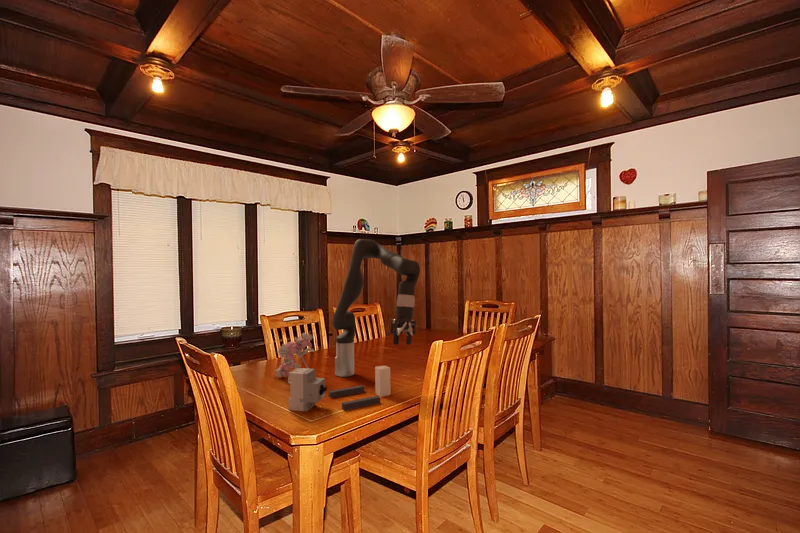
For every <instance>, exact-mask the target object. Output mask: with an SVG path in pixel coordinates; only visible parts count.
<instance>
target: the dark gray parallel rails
mask: <svg viewBox="0 0 800 533" xmlns="http://www.w3.org/2000/svg"><path fill="white" fill-rule="evenodd" d="M360 393H365V385H363V384H361V385H357V386H350V387H345V388H339V389H333V390H328V397H329V398H330V399H334V398H339V397H344V396H349V395H355V394H360ZM380 403H381V397H380V396H379V395H375V396H369V397H364V398H359V399H353V400H349V401H348V400H347V401H343V402H341V409H342V411H349V410H353V409H358V408H363V407H367V406H372V405H377V404H378V405H379V404H380ZM348 409H349V410H348Z"/></svg>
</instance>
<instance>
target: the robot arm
mask: <svg viewBox="0 0 800 533" xmlns="http://www.w3.org/2000/svg"><path fill="white" fill-rule="evenodd" d="M372 258H374V259H378V260H380V262H381V263H382V264H383V265H384V266H385V267H387V268H390V270H391V269H392V270H393V271H394V272H396V273H397V274H400V275H402V276H406V277H405V278H406V279H405V280H402V281H400V282H399V284H398V291H397V292H398V294H397V297H396V298H397V299H396V309H395V316H396V318H392V319H391V323H390V334H392V335H393V342H392V343H393V345H396V346H397V345H399V343H400V334H401V332H403V331H404V332H405V333H406V338H405V339H406V340H405V344H406V345H409V346H411V344H412V338H413V336H414V335H416V330H417V328H416V327H417V321H416V320H414V319H413V317H414V314H415V313H414V312H415V292H416V285H417V283H418V279H419V276H420V274H421V266H420V264H419V262H418V261H416V260H412V259H408V258H404V257H403V256H402V255H401V254H398V253H396V252H393V251H391V250H389V249H387V248H386V247H384V246H383V245H381V244H380V243H378V242H377V241H376V240H373V239H370V238H368V239H367V238H358V239H357V240H356V241H355V242H354V245H353V248H352V253H351V258H350V264H349V268H348V272H347V275H346V278H345V282H344V284H343V288H342V292H341V295H340V298H339V302H338V303H337V306H336V309H335V312H334V314H333V316H332V327H333V328H334V329H335V330H337V331H341V330H343V331H342V332H341V333H340V334H339V335H337V336H336V338H335V340H336V342H335V343H336V347H335V350H336V351H335V352H336V354H335V355H336V356H335V357H334V376H337V377H343V378H347V377H352V376H354V375H355V338H356V337H355V336H356V317H355V314H354V312H353V311H349V308H350V307H351V305H353V304H354V302H355V301H356V300H357V299H358V298H359V297H360V295H361V294H362V290H363V287H364V282H365V280H364V276H363V274H362V273H363V272H362V270H361V267H362V262H363V260H364V259H372Z"/></svg>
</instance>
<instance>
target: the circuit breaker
mask: <svg viewBox="0 0 800 533" xmlns="http://www.w3.org/2000/svg"><path fill="white" fill-rule="evenodd" d="M315 370H316V369H315V368H307V367H306V368H304V367H302V368H301V367H298V368H296V369H293V370H292V371H289V372H288V373H289V376H287V382H288V384H289V386H290V390H289V392H290V393H289V394H290V396H289V398H288V411H295V412H308V411H309V410H311V409H312V408H313V407H314V406H315V405H316V403H317V404H318V403H319V402H320V401H322V399H323V398H325V397H326V391H327V390H328V387H327V386H326V378H325V377H316V371H315Z"/></svg>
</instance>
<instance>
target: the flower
mask: <svg viewBox="0 0 800 533" xmlns="http://www.w3.org/2000/svg"><path fill="white" fill-rule="evenodd" d="M312 339H313V334H311V330H309V333H308V332H306V333H305V332H304V331H303V333H301V335H300V336H298V337H296V336H295V337H294V338H293V340H294V341H288V342H286V343H282V345H281V346H278V348H279V349H278V350H277V351H276V353H277V354H279V357H281V358H283V359H284V360H282V363H281V364H280V365H279V367H278V368H276V369H275V370H274V372H275V376H276V377H279V378H282V377H284V376H285V377H289V373H290V369H293V370H295V369H296V368H300V367H302V365H301V364H300V363H297V360H296V359H294V355H296V356H297V357H299V358H300V360H301V362H302V363H303V364H304V366H305V367H306V368H309V365H308V364H307V362H306V359H305V358H304V355H307V356H309V354H308V352H310V353H311V352H314V353H316V351H315V349H314V348H312V347H313V345H312V343H311V341H312ZM306 347H307V348H306ZM309 369H310V368H309Z"/></svg>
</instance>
